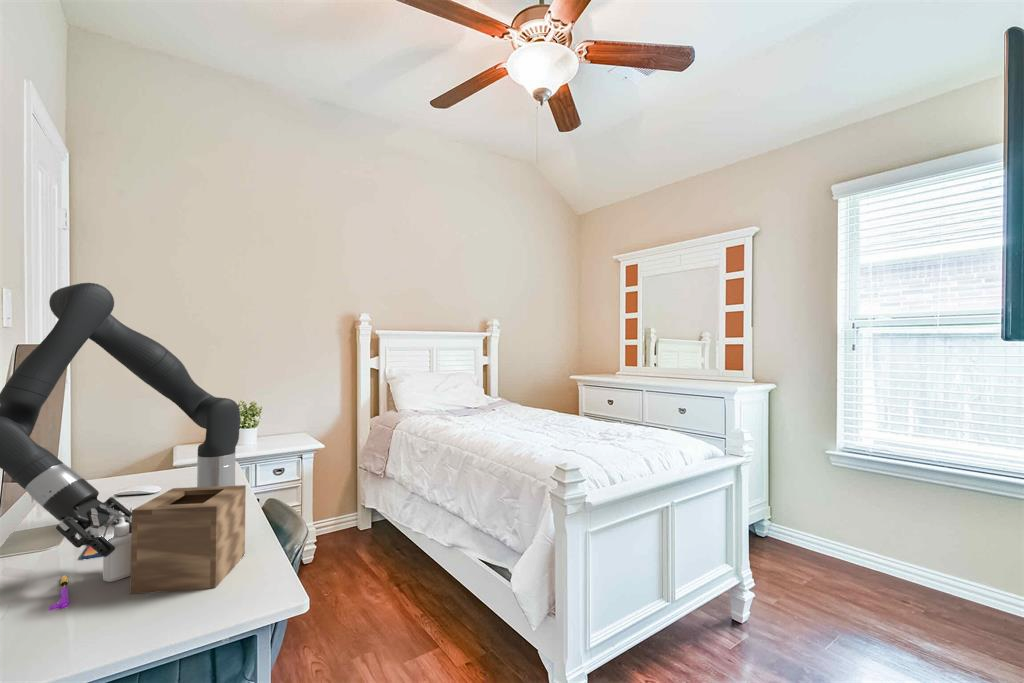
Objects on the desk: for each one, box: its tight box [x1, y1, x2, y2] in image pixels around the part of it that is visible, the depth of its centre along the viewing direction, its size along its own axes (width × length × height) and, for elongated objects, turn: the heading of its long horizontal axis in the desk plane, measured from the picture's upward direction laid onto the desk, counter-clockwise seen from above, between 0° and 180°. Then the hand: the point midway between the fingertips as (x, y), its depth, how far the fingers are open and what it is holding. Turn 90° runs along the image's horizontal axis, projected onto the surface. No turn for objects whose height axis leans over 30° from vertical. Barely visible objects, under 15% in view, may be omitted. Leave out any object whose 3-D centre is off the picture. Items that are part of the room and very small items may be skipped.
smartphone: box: [81, 546, 103, 560], centre depth 115 cm, size 7×15×1 cm, turn 32°
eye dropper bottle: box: [102, 517, 131, 583], centre depth 99 cm, size 4×6×12 cm
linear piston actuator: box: [48, 575, 70, 612], centre depth 92 cm, size 3×1×16 cm
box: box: [129, 484, 247, 595], centre depth 100 cm, size 15×15×16 cm
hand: (124, 544), depth 99 cm, fingers open, 8 cm apart
